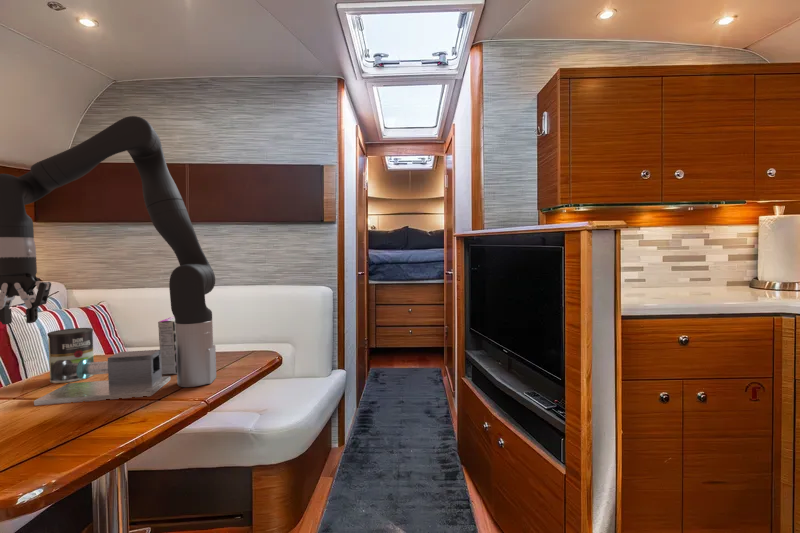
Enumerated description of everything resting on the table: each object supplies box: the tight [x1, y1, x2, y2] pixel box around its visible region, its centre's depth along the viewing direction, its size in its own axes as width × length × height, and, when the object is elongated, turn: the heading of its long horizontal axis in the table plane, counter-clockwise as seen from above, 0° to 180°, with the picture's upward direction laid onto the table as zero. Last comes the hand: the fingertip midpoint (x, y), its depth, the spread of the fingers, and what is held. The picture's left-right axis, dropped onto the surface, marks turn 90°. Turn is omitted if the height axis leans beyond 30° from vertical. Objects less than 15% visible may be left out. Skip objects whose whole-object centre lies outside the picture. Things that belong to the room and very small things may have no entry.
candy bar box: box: [157, 315, 177, 376], centre depth 121 cm, size 11×5×16 cm, turn 6°
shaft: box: [51, 359, 108, 381], centre depth 102 cm, size 18×5×5 cm, turn 101°
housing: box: [33, 349, 171, 406], centre depth 102 cm, size 26×13×10 cm, turn 101°
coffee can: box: [46, 327, 95, 384], centre depth 115 cm, size 10×10×14 cm
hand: (19, 322), depth 98 cm, fingers open, 4 cm apart
